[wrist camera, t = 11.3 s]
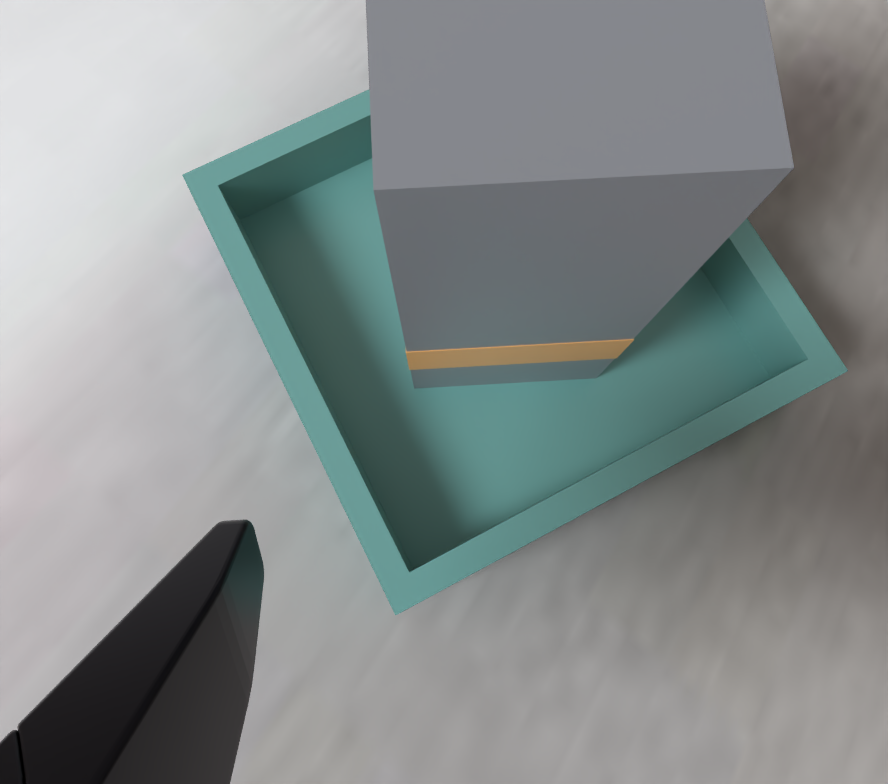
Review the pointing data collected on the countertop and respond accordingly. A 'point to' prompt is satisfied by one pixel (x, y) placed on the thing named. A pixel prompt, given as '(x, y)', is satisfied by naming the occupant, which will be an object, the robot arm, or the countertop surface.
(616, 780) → the countertop surface
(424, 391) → the tray
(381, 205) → the gray rectangular block
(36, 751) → the robot arm
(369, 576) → the countertop surface
